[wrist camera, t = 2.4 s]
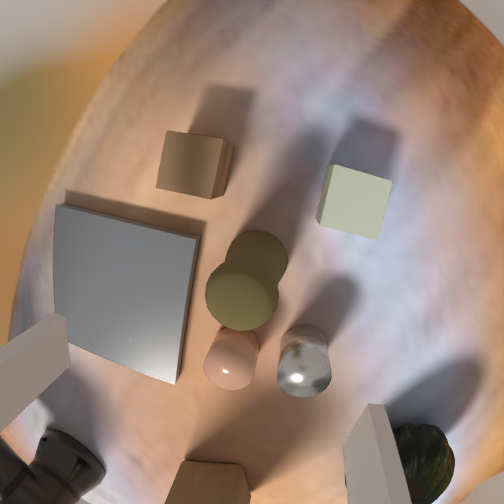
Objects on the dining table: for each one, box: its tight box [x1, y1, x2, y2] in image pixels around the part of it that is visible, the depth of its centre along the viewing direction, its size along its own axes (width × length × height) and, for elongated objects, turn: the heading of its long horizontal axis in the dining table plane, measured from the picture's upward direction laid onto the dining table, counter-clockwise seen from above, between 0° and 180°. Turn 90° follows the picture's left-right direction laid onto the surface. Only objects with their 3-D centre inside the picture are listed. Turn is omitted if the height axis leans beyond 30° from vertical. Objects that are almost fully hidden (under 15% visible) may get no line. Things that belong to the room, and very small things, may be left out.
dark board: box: [53, 204, 200, 385], centre depth 33 cm, size 18×18×2 cm
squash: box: [345, 424, 455, 504], centre depth 29 cm, size 14×15×15 cm
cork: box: [205, 230, 287, 331], centre depth 26 cm, size 6×6×11 cm
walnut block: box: [156, 131, 234, 199], centre depth 27 cm, size 5×5×5 cm
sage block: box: [316, 164, 393, 240], centre depth 26 cm, size 5×5×5 cm
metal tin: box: [277, 325, 332, 398], centre depth 30 cm, size 5×5×6 cm
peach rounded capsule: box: [203, 327, 259, 390], centre depth 31 cm, size 5×5×5 cm
